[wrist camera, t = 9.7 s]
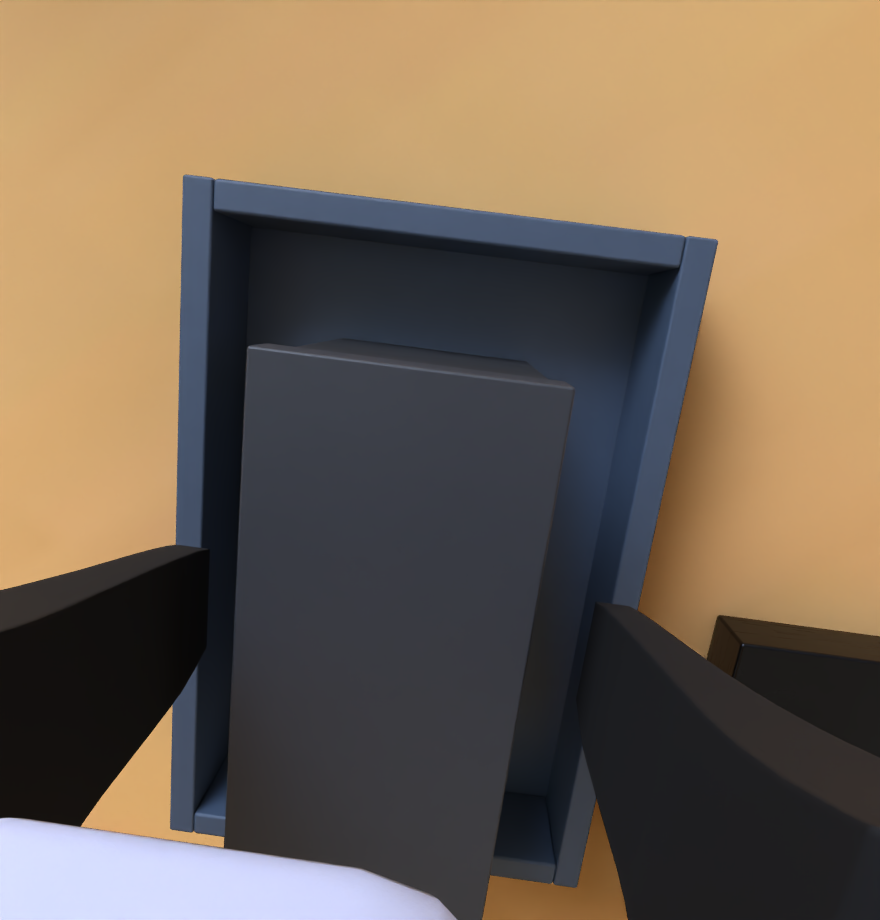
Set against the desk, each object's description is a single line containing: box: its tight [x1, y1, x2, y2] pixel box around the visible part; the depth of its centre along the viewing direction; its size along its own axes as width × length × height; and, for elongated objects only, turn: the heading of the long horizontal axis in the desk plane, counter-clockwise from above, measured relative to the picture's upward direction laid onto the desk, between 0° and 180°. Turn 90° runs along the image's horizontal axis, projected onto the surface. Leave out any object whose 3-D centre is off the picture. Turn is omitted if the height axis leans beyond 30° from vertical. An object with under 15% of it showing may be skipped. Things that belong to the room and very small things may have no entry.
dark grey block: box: [224, 338, 575, 920], centre depth 12 cm, size 5×10×6 cm, turn 173°
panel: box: [707, 615, 880, 757], centre depth 15 cm, size 6×10×4 cm, turn 173°
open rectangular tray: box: [170, 175, 718, 888], centre depth 14 cm, size 10×15×2 cm
